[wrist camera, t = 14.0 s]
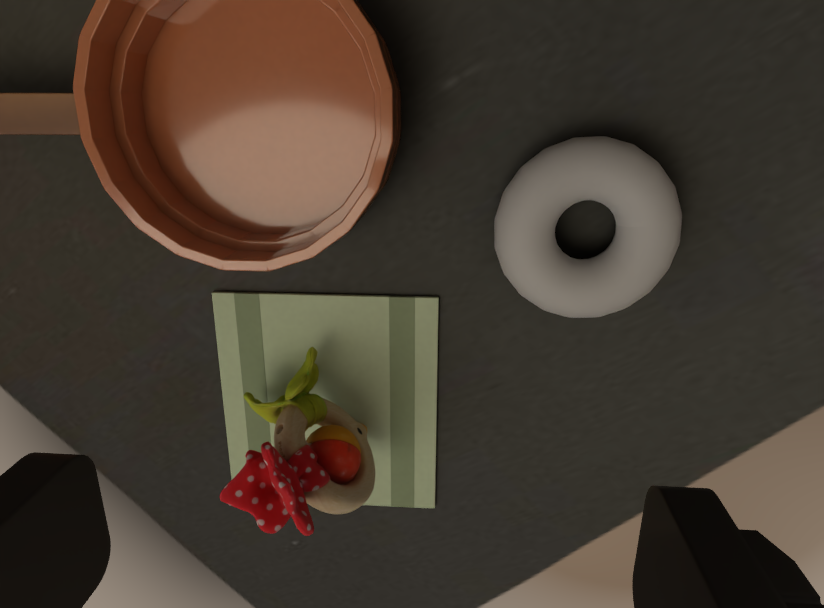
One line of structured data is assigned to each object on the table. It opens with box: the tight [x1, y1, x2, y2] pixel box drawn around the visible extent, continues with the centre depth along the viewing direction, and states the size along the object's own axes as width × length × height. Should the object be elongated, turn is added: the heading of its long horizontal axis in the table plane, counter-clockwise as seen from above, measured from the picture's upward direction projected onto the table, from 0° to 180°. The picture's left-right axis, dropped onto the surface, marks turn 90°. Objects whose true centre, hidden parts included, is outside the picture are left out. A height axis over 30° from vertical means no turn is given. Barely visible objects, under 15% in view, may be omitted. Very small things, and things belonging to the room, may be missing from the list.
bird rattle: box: [220, 347, 375, 536], centre depth 34 cm, size 6×11×9 cm
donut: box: [494, 136, 682, 318], centre depth 32 cm, size 10×4×10 cm
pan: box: [73, 0, 401, 271], centre depth 31 cm, size 16×16×5 cm
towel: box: [212, 291, 439, 508], centre depth 39 cm, size 15×14×1 cm
